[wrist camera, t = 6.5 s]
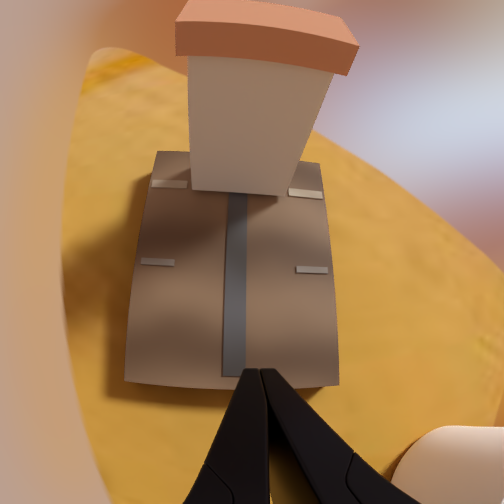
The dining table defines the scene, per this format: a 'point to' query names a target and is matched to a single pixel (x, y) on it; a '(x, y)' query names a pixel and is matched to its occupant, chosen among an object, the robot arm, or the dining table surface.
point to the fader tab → (255, 88)
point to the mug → (454, 466)
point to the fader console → (231, 283)
